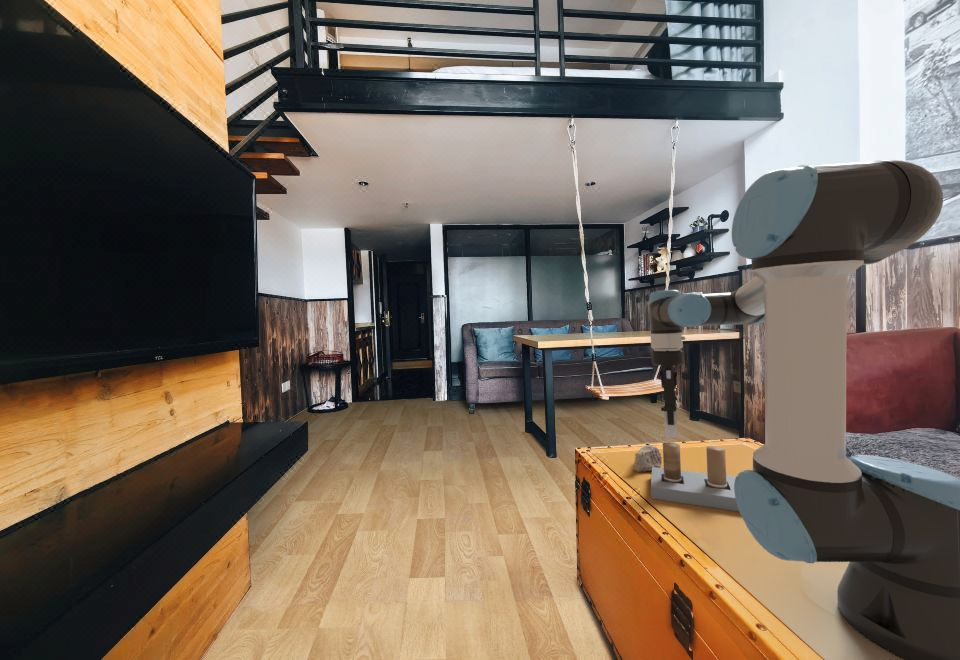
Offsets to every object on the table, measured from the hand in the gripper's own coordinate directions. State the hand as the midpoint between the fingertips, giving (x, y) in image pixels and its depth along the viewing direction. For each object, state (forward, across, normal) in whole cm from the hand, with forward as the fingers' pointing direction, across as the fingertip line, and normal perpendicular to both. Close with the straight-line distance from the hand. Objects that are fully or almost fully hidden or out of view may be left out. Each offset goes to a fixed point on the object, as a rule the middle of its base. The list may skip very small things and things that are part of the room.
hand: (670, 430), depth 98 cm
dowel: (+16, 0, 0) cm, 16 cm away
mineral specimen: (+16, +15, +7) cm, 23 cm away
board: (+16, 0, -5) cm, 17 cm away
